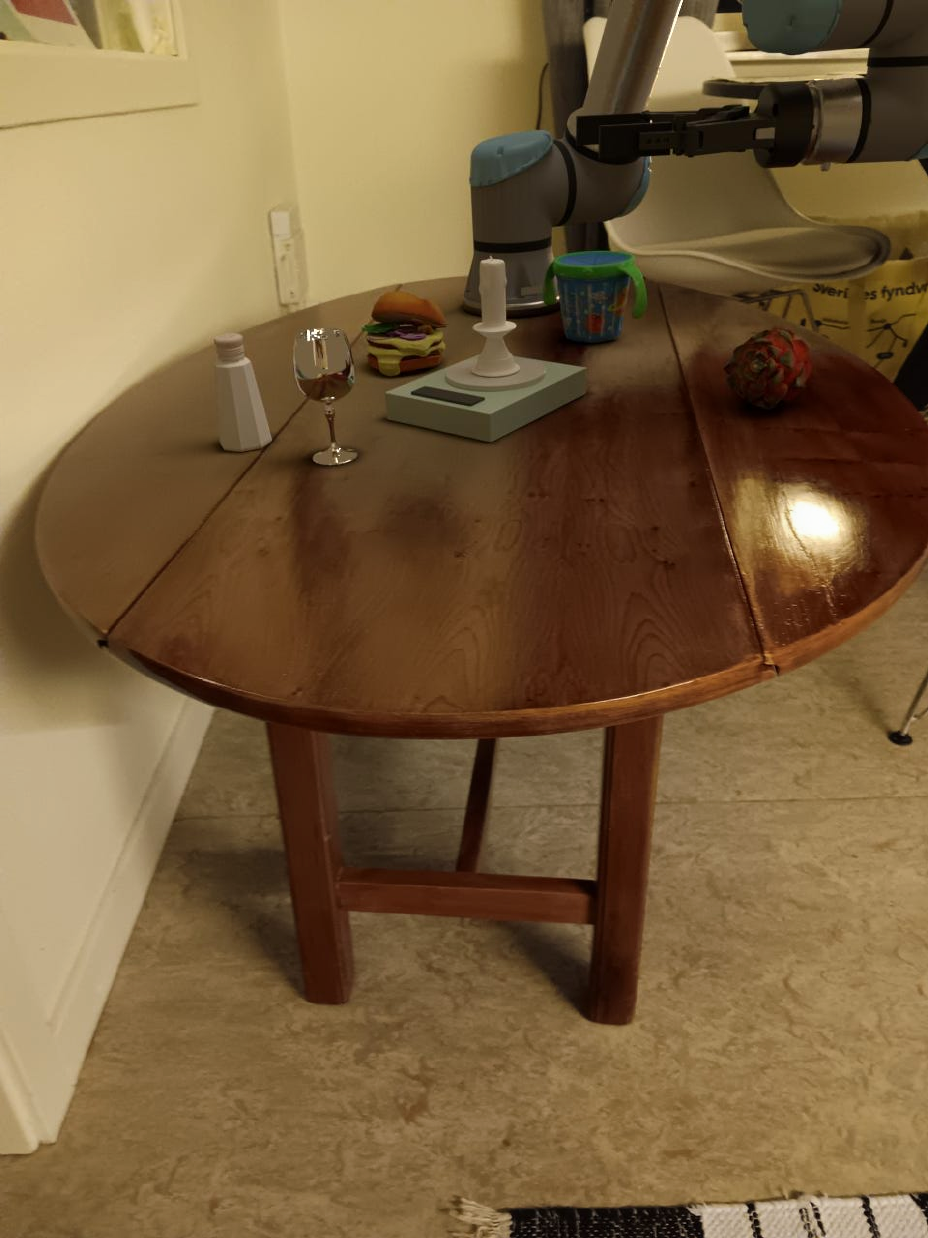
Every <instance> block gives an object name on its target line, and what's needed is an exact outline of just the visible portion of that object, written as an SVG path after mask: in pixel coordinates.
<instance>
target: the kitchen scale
mask: <svg viewBox="0 0 928 1238" xmlns="http://www.w3.org/2000/svg"><path fill="white" fill-rule="evenodd" d="M480 354H481V353H479V354H476V355H474V356H472V357H469V358H466V359H464V360H461V361H459V362H457V363H454V364H451V365H449V366H447V367H443V368H441V369H440V370H437V371H435V372H431V373H430V374H427V375H424V376H422V377H419V378H417V379H414V380H412V381H410V382H407V383H404V384H403V385H399V386H398V387H395V388H393V389H390V390H388V391H385V392H384V398H385V408H386V419H387V420H389V421H393V422H398V423H402V424H407V425H411V426H415V427H421V428H424V429H428V430H432V431H433V430H434V431H438V432H443V433H447V434H451V435H456V436H460V437H464V438H469V439H472V440H478V441H482V442H486V443H487V442H488V443H493V442H495V441H497V440H499V439H501V438H502V437H505V436H506V435H508V434H510V433H513V432H515V431H516V430H518V429H520V428H522V427H524V426H526V425H528V424H529V423H531V422H534V421H535V420H537V419H540V418H542V417H543V416H545V415H547V414H549V413H551V412H553V411H555V410H557V409H559V408H560V407H563V406H565V405H566V404H568V403H571V402H573V401H574V400H576V399H578V398H580V397H582V396H584V395H586V393H587V367H586V366H585V367H584V366H580V365H579V366H578V365H572V364H565V363H560V362H553V361H548V360H541V359H535V358H529V357H522V356H516V355H513V359H514V363H516V364H518V365H519V366H520V370H519V371H518V372H517V373H515V374H512V375H508V376H501V377H484V376H479V375H476V374H474V373H473V372H472V371H471V369H472V368H473V367H474V366H475V365H477V359H478V356H479V355H480Z"/></svg>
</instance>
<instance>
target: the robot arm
mask: <svg viewBox="0 0 928 1238" xmlns="http://www.w3.org/2000/svg"><path fill="white" fill-rule="evenodd" d="M736 1H737V2H738V3H739V4H740V5H741V18H742V26H744V27H745V29H746V32H747V39H748V41H749V42H750V44H751V45H752V46H753V47H754V48H755V49H757V50H759V51H760V52H762V53H766V54H781V55H785V56H801V55H805V54H810V53H820V52H821V53H822V52H835V51H844V50H845V51H846V50H859V49H860V50H861V49H868V55H867V60H866V61H867V62H866V63H867V64H866V67H867V69H866V75H865V77H841V78H840V77H839V78H838V77H837V78H822V79H819V78H818V79H817V78H816V79H812V80H810V81H808V82H807V83H806V82H805V81H803V80H795V81H794V80H793V81H777V82H770V83H768V84H767V85H765V86H764V88H763V89H762V90H761V92H760V94H759V96H758V98H757V104H756V106H755V108H754V110H753V111H752V112H750V111H751V105H743V104H741V103H735V104H733V103H732V104H731V103H730V104H725V105H724V106H720V107H719V106H714V107H713V106H710V107H709V106H707V107H701V108H699V109H698V110H657V111H650V110H649V109H647V107H648V105H649V102H650V99H651V96H652V93H653V90H654V87H655V84H656V82H657V78H658V75H659V72H660V69H661V66H662V63H663V60H664V57H665V54H666V51H667V49H668V45H669V42H670V39H671V36H672V33H673V30H674V28H675V24H676V22H677V18H678V15H679V12H680V9H681V8H682V7H681V6H682V3H683V0H612V1H611V4H610V8H609V11H608V15H607V18H606V23H605V25H604V29H603V33H602V35H601V39H600V44H599V47H598V52H597V55H596V58H595V61H594V65H593V69H592V73H591V76H590V78H589V79H590V80H589V83H588V87H587V90H586V93H585V98H584V101H583V104H582V107H580V108H577V109H576V110H575V111H573V112H572V113H571V114H570V115H569V117H568V119H567V123H566V125H565V129H564V133H563V137H562V138H559V139H553V136H552V134H551V132H550V131H548V130H545V129H533V130H526V131H521V132H511V133H506V134H502V135H497V136H494V137H491V138H488V139H486V140H482V141H481V142H479V143H478V144H477V145H476V146H475V147H474V148H473V149H472V150H471V153H470V158H469V159H470V160H469V163H470V164H469V177H468V179H469V180H468V182H469V185H470V206H471V225H472V226H471V227H472V228H471V229H472V244H473V245H472V247H473V249H472V250H473V254H472V256H473V257H472V260H471V263H470V266H469V267H470V268H469V271H468V275H467V279H466V284H465V288H464V291H463V295H462V296H463V297H462V299H463V300H462V301H463V309H464V310H465V311H466V312H468V313H471V314H473V315H476V316H482V302H481V294H480V292H479V285H480V262H481V261H482V260H487V259H491V258H490V256H491V257H492V258H493V259H499V260H503V262H504V264H505V275H506V280H507V284H506V287H505V299H506V318H522V317H529V316H530V317H531V316H538V315H544V314H548V313H551V312H554V311H558V310H560V299H559V294H558V287H557V279H556V276H555V277H554V286H555V292H556V299H557V300H556V302H555V303H554V304H553V305H550V306H547V305H546V304H545V303H544V301H543V297H542V294H543V284H544V278H545V274H546V271H547V268H548V267H549V265H550V264H551V263H552V262H553V260H554V259H555V257H554V254H553V228H557V227H567V226H572V225H573V226H574V225H580V224H588V223H596V222H597V223H605V222H610V221H613V220H615V219H618V218H623V217H625V216H628V215H630V214H632V212H634V211H635V210H636V209H637V208H638V207H639V206H640V205H641V203H642V202H643V200H644V198H645V196H646V194H647V191H648V189H649V186H650V182H651V179H652V170H651V169H650V165H651V164H652V157H662V156H663V157H665V156H671V153H672V155H675V156H676V157H681V156H684V157H687V158H690V159H692V158H695V157H698V156H706V155H714V154H715V155H716V154H722V153H745V152H747V150H752V152H753V157H754V159H755V162H756V164H757V166H759V167H760V168H761V169H780V168H781V169H782V168H794V167H796V166H798V165H799V164H800V165H802V166H819V169H820V171H821V172H829V171H830V170H831V166H832V163H833V164H834V165H838V164H841V165H845V164H867V163H868V164H869V163H870V164H871V163H872V164H873V163H893V162H894V163H895V162H905V163H910V162H911V161H915V160H923V159H928V0H736ZM671 150H672V151H671Z"/></svg>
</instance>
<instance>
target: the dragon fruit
mask: <svg viewBox="0 0 928 1238" xmlns="http://www.w3.org/2000/svg"><path fill="white" fill-rule="evenodd" d="M812 354H813V353H812V350H811V348H810V346H809V344H808V343H807V342H806V341H805V340H804V339H802V338H801V339H800V338H797V339H796V338H795V334H794V332H793V331H792V330H791V329H789V328H785V327H783V326H777V325H776V326H773V327H772V328H771V329H764V330H762V331H758V332H757V333H756V334H754V335H752V336H750V337H749V339H747V340H746V341H745V342H743V344H740V345H738V346H736V347H735V348H734V349H733V351H732V356H731V357H730V359H729V360H728V361H727V362H726V363H725V365H724V367H723V370H724V372H725V373H726V374H727V375H728V376H727V377H726V379H725V381H726V383H727V386H728V387H729V389H732V390H734V392H735V393H736V394H737V395H738V396H739V397H740V398H742V400H744V401H749V402H750V404H752V405H753V406H755V407H757V408H760V409H763V410H772V409H774V408H775V407H777V406H778V405H779V403H780V402H781V401H782V402H784V403H786V404H790V403H791V402H795V403H798V402H799V401H801V399H802V398H803V396H804V395H805V392H806V388H807V386H806V385H807V384H806V383H807V382H806V381H807V380H809V379H810V377H811V375H812V369H813V359H812V358H813V357H812Z"/></svg>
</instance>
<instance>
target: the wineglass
mask: <svg viewBox="0 0 928 1238" xmlns="http://www.w3.org/2000/svg"><path fill="white" fill-rule="evenodd" d="M293 339H294V340H293V349H292V371H293V378H294V381H295V384H296V387H297V389H298V390H299V392H300V393H301V394H302V395H303V396H304V397H305V398H307V399H309V400H310V401H314V402H317V403H323V404H325V406H324V415H325V418H326V421H327V424H328V428H329V438H330V445H329V448H326V449H323V450H320V451H317V452H316V453H314V454H313V455H312V461H313V462H314V463H315V464H318V465H323V466H337V465H338V466H339V465H344V464H348V463H350V462H353V461H354V460H356V459H357V458H358V455H359V454H358V451H356V450H355V449H353V448H350V447H340V446H339V445H338V443H337V440H336V433H335V416H336V411H335V410H336V409H335V407H334V405H333V404H332V403H334V402H337V401H339V400H341V399H343V398H344V397H346V396H347V395H348V394H349V393H351V391H352V389H353V387H354V385H355V381H356V365H355V359H354V355H353V351H352V348H351V345H350V341H349V339H348V336H347V333H346V331H345V330H344V329H341V328H337V327H318V328H311V329H305V330H302V331H299V332H297V333H295V335H294V338H293Z"/></svg>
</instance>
